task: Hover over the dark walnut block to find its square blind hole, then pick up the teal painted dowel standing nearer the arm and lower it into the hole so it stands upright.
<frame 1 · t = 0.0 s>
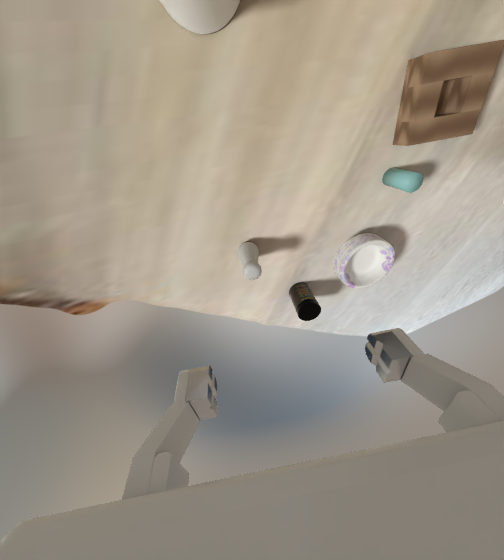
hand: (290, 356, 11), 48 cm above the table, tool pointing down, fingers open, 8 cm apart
supplement container: (298, 289, 71), on the table
bore block: (432, 100, 47), on the table
dowel: (390, 176, 55), on the table
salt shaker: (247, 248, 61), on the table
paper bowls: (353, 252, 66), on the table
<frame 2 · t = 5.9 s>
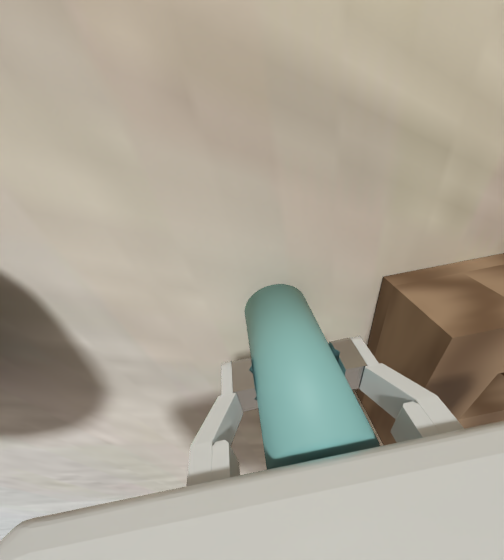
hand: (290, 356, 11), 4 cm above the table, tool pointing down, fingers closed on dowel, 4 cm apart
bore block: (450, 331, 18), on the table
dowel: (275, 309, 14), on the table, touching gripper
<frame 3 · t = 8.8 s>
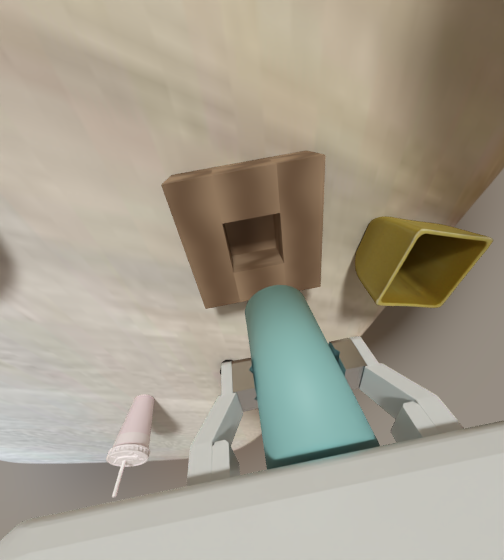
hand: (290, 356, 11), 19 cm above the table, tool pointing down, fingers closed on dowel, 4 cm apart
bore block: (249, 227, 27), on the table
flower pot: (378, 238, 30), on the table
dowel: (275, 310, 14), point 15 cm above the table, touching gripper
smoothie: (144, 398, 44), on the table
when the fingers open (7 cm above the table, at t = 11.7 s): dowel drops 2 cm, resting on bore block.
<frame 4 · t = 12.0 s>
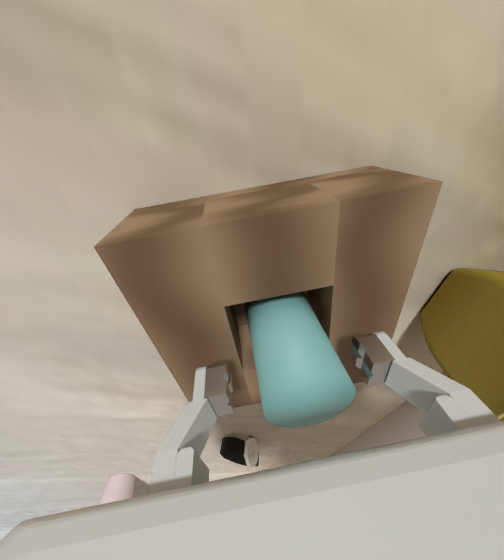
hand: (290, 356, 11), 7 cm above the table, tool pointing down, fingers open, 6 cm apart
bore block: (267, 284, 17), on the table
watch: (239, 439, 32), on the table
flower pot: (455, 291, 20), on the table
dowel: (270, 292, 16), point 1 cm above the table, touching bore block
smoothie: (122, 476, 34), on the table
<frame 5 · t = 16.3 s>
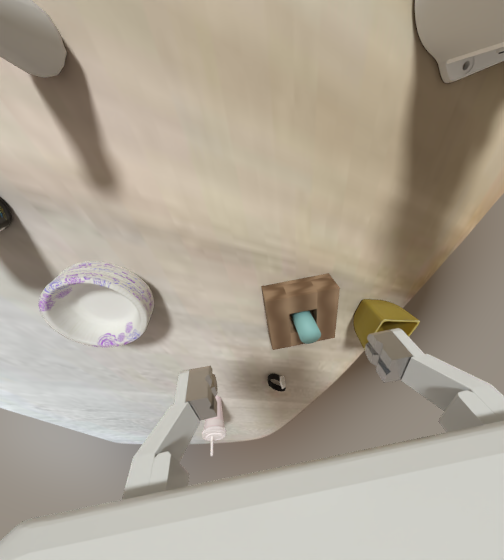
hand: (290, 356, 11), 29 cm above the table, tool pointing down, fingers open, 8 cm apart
bore block: (296, 305, 49), on the table
watch: (275, 377, 65), on the table
flower pot: (366, 306, 52), on the table
dowel: (297, 308, 48), point 1 cm above the table, touching bore block
smoothie: (214, 398, 66), on the table
salt shaker: (46, 46, 24), on the table
paper bowls: (115, 287, 41), on the table
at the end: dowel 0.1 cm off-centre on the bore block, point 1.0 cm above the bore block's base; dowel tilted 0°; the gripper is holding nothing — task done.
